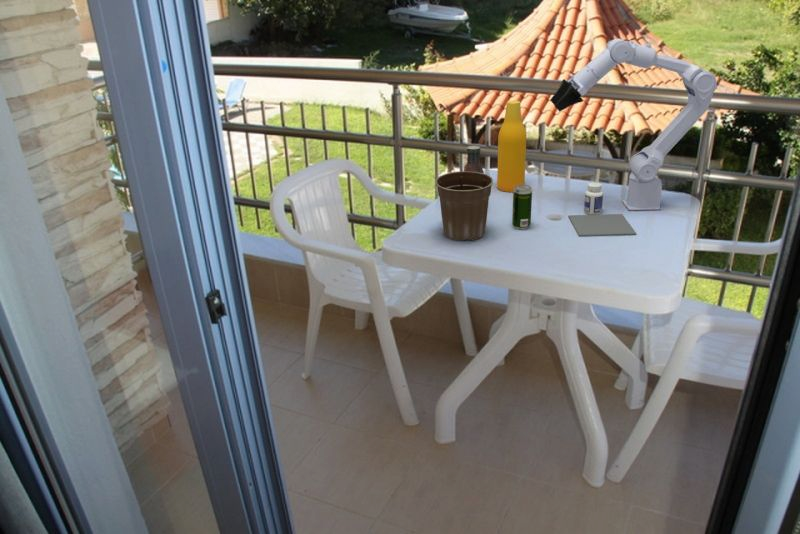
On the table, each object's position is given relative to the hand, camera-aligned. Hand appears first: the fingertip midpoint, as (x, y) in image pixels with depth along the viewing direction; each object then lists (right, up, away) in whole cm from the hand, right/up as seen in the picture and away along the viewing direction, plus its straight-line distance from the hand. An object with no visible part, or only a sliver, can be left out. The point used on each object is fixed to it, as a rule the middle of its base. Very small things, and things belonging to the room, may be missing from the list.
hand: (554, 105), depth 200 cm
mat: (+13, -35, 0) cm, 37 cm away
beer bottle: (-8, -20, +32) cm, 39 cm away
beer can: (-9, -35, +2) cm, 37 cm away
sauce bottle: (-22, -29, +16) cm, 40 cm away
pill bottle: (+14, -30, +10) cm, 35 cm away
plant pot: (-27, -37, -1) cm, 46 cm away
